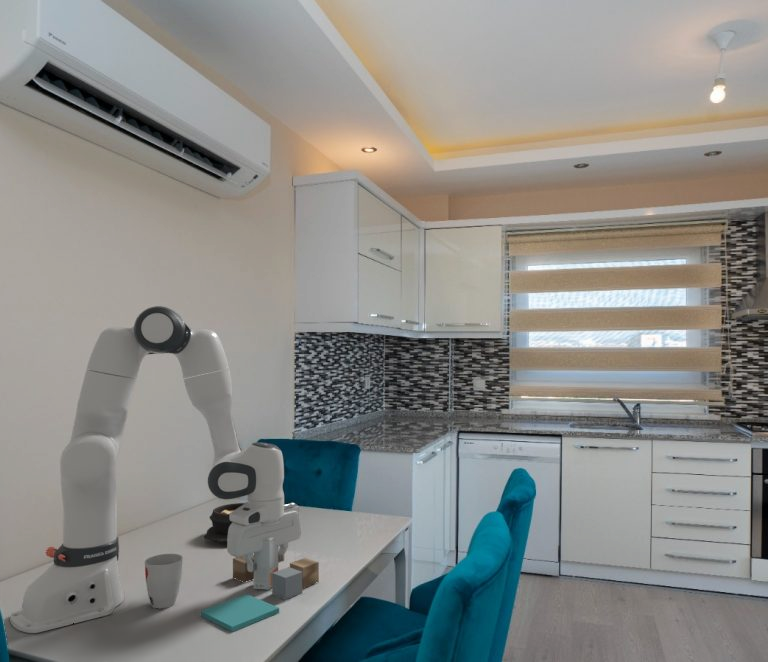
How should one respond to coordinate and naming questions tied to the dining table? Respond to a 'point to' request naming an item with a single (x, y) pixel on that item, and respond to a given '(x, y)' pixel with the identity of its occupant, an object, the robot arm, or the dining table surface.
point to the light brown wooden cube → (307, 571)
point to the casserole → (221, 522)
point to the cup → (163, 579)
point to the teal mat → (239, 612)
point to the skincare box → (265, 564)
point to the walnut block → (242, 569)
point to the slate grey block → (287, 583)
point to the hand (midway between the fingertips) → (266, 566)
